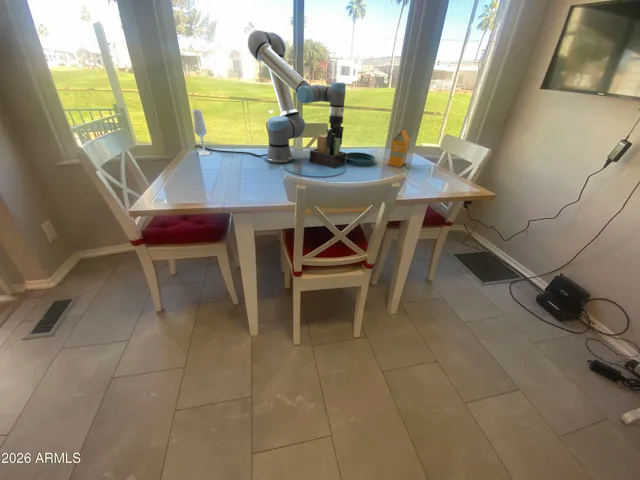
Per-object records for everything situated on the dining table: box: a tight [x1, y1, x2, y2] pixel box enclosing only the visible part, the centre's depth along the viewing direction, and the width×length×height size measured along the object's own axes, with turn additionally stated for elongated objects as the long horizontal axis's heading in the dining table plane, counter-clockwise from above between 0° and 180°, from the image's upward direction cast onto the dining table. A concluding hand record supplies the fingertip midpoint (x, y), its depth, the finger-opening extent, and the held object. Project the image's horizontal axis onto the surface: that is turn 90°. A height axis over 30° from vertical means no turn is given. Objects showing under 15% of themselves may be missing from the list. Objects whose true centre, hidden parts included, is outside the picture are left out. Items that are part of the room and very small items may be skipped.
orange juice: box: [387, 129, 411, 168], centre depth 160 cm, size 8×9×20 cm
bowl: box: [344, 151, 376, 167], centre depth 165 cm, size 19×19×4 cm
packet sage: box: [328, 138, 341, 156], centre depth 156 cm, size 5×4×14 cm
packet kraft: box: [316, 134, 328, 154], centre depth 160 cm, size 5×4×14 cm
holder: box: [309, 147, 347, 169], centre depth 161 cm, size 18×12×7 cm, turn 52°
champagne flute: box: [191, 109, 211, 156], centre depth 159 cm, size 7×7×24 cm
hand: (333, 158), depth 159 cm, fingers closed on packet sage, 4 cm apart
